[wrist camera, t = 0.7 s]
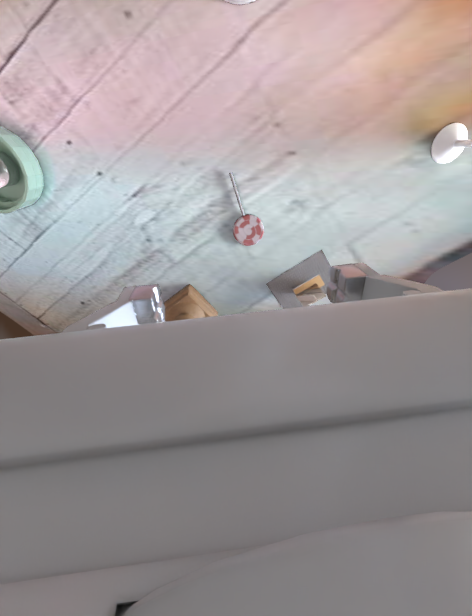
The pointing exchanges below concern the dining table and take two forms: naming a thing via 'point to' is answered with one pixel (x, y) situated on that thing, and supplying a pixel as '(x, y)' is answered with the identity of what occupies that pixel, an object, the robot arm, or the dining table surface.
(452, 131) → the champagne flute
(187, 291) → the candle holder
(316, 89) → the dining table surface
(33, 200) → the bowl
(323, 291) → the architectural model
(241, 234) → the lollipop
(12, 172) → the meat pounder
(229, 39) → the dining table surface
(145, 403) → the robot arm
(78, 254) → the dining table surface
